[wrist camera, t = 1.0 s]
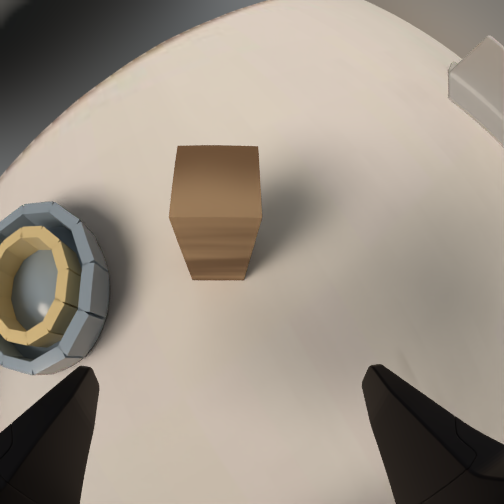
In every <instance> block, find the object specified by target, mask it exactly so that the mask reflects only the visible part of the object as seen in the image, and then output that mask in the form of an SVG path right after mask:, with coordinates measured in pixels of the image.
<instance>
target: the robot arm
mask: <svg viewBox="0 0 504 504" xmlns="http://www.w3.org/2000/svg"><path fill="white" fill-rule="evenodd" d="M362 389H363V393H364V398H365V402H366V406H367V411H368V416H369V420H370V424H371V427H372V430H373V433H374V436H375V439H376V442H377V445H378V448H379V451H380V454H381V457H382V460H383V463H384V466H385V470H386V473H387V476H388V479H389V482H390V486H391V489H392V492H393V496H394V499H395V503H396V504H504V445H503V444H502V443H500V442H498V441H496V440H494V439H492V438H490V437H488V436H486V435H484V434H483V433H481V432H479V431H477V430H476V429H474V428H472V427H471V426H469V425H468V424H466V423H464V422H463V421H461V420H460V419H459V418H457V417H454V415H453V414H451V413H450V412H448V411H447V410H446V409H444V408H443V407H441V406H440V405H438V404H437V403H435V402H434V401H433V400H431V399H430V398H428V397H427V396H426V395H424V394H423V393H421V392H420V391H418V390H417V389H416V388H414V387H413V386H411V385H410V384H409V383H407V382H406V381H404V380H403V379H401V378H400V377H399V376H397V375H396V374H394V373H393V372H392V371H390V370H389V369H387V368H386V367H385V366H383V365H381V364H376V365H371V366H370V367H369V368H368V370H367V372H366V374H365V377H364V379H363V381H362ZM98 396H99V383H98V381H97V378H96V376H95V374H94V371H93V369H92V368H91V367H87V366H79V367H78V368H76V369H75V370H74V371H73V372H72V373H70V374H69V375H68V376H67V377H66V378H64V379H63V380H62V381H61V382H60V383H58V384H57V385H56V386H55V387H54V388H52V389H51V390H50V391H49V392H48V393H46V394H45V395H44V396H43V397H42V398H41V399H39V400H38V401H37V402H36V403H35V404H33V405H32V406H31V407H30V408H29V409H28V410H26V411H25V412H24V413H23V414H22V415H21V416H19V417H18V418H17V419H16V420H15V421H14V422H12V424H10V425H9V426H8V427H7V428H5V429H4V430H3V431H2V432H1V433H0V504H80V499H81V492H82V486H83V480H84V474H85V469H86V463H87V458H88V454H89V449H90V444H91V440H92V435H93V431H94V425H95V417H96V410H97V402H98Z"/></svg>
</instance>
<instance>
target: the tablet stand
mask: <svg viewBox="0 0 504 504" xmlns="http://www.w3.org/2000/svg"><path fill="white" fill-rule="evenodd" d="M448 98H449V100H450V101H451V102H453V103H454V104H455V105H456V106H458V107H459V108H460V109H461V110H463V111H464V112H465V113H466V114H467V115H469V116H470V117H471V118H472V119H473V120H475V121H476V122H477V123H478V124H479V125H480V126H481V127H482V128H484V129H485V130H486V131H487V132H488V133H489V134H490V135H491V136H492V137H493V138H494V139H495V140H496V141H497V142H498V143H499V144H500V145H501V146H502V147H503V148H504V47H503V46H502V45H501V44H500V43H499V42H498V41H497V40H495V39H494V38H493V37H492V36H487V37H486V38H484V39H483V40H482V41H481V42H480V43H479V44H478V45H477V46H476V47H475V48H474V49H473V50H472V51H471V52H470V53H469V54H468V55H467V56H465V57H464V58H463V59H462V60H461V61H460V62H459V63H458V64H457V63H456V62H452V63H451V65H450V68H449V70H448Z"/></svg>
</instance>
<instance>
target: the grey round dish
mask: <svg viewBox="0 0 504 504" xmlns="http://www.w3.org/2000/svg"><path fill="white" fill-rule="evenodd" d="M109 299H110V282H109V273H108V268H107V264H106V261H105V258H104V255H103V253H102V251H101V248H100V247H99V245H98V243H97V240H96V238H95V236H94V234H93V233H92V232H91V231H90V230H89V229H88V228H87V227H86V226H85V225H84V224H83V223H82V222H81V221H80V220H79V219H78V218H77V217H75V216H74V215H72V214H71V213H70V212H68V211H67V210H65V209H64V208H63V207H61V206H60V205H58V204H57V203H56V202H53V201H52V202H41V203H31V204H24V206H23V205H22V206H21V207H19V208H18V209H16V210H15V211H14V212H12V213H11V214H10V215H9V216H7V217H6V218H5V219H3V220H2V221H1V222H0V365H3V367H5V368H8V369H12V370H15V371H19V372H22V373H26V374H30V375H48V374H55V373H57V372H59V371H61V370H64V369H67V368H69V367H71V366H73V365H74V364H76V363H77V362H79V361H80V360H81V359H83V357H84V356H86V354H87V353H88V352H89V351H90V350H91V348H92V347H93V346H94V344H95V342H96V341H97V339H98V337H99V335H100V333H101V331H102V329H103V326H104V323H105V320H106V316H107V312H108V307H109Z"/></svg>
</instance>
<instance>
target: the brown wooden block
mask: <svg viewBox="0 0 504 504" xmlns="http://www.w3.org/2000/svg"><path fill="white" fill-rule="evenodd" d="M169 219H170V222H171V225H172V227H173V230H174V233H175V235H176V238H177V241H178V244H179V246H180V249H181V252H182V254H183V257H184V259H185V262H186V264H187V267H188V270H189V272H190V275H191V277H192V280H244V278H245V274H246V271H247V267H248V264H249V261H250V257H251V254H252V250H253V247H254V244H255V240H256V237H257V233H258V230H259V227H260V223H261V220H262V207H261V188H260V170H259V153H258V146H221V145H200V146H178V147H177V154H176V161H175V168H174V176H173V184H172V193H171V202H170V212H169Z"/></svg>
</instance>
